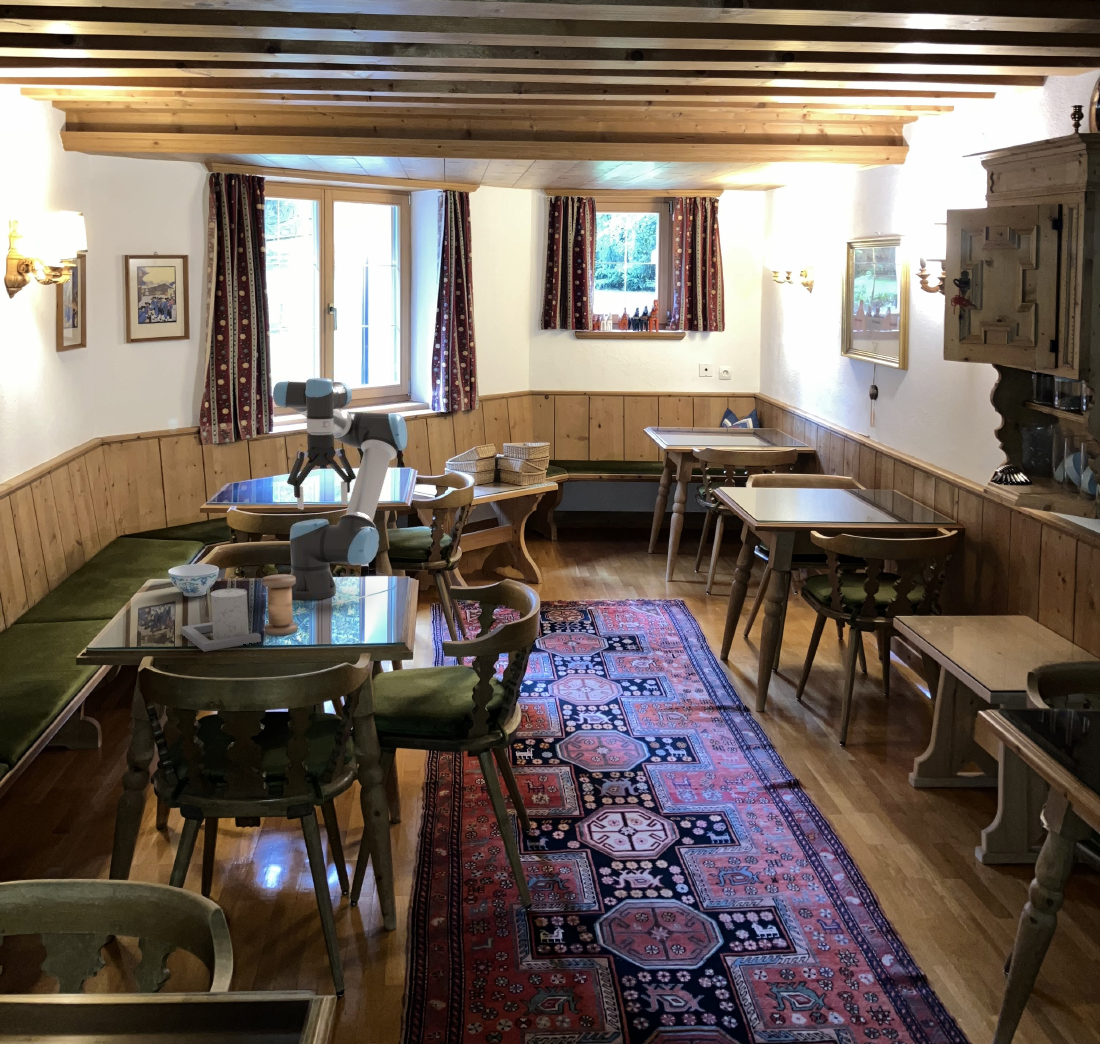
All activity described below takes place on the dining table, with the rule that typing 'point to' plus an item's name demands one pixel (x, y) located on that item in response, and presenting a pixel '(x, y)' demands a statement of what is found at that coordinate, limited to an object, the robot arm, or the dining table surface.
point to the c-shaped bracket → (207, 645)
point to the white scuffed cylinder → (229, 613)
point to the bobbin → (279, 604)
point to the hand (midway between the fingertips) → (322, 506)
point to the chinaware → (193, 578)
